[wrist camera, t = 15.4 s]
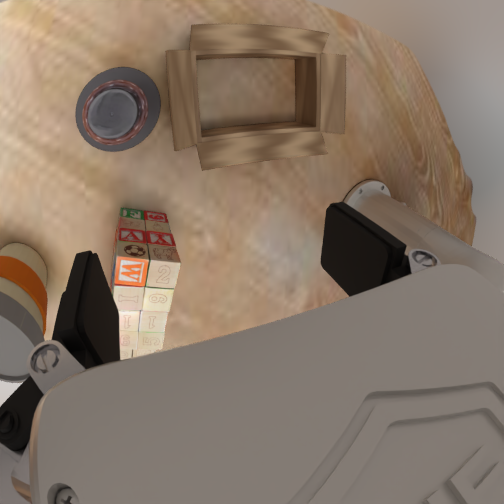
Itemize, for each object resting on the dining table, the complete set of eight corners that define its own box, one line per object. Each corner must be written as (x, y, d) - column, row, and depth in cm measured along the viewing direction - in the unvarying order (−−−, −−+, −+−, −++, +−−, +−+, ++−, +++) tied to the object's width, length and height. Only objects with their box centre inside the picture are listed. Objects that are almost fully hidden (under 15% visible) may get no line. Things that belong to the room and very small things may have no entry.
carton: (314, 40, 30) (346, 36, 25) (314, 142, 39) (344, 153, 33) (158, 39, 24) (164, 26, 19) (169, 160, 33) (178, 175, 27)
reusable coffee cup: (-15, 288, 28) (-44, 362, 17) (-8, 218, 25) (-57, 285, 14) (50, 314, 36) (40, 394, 24) (67, 249, 32) (47, 329, 21)
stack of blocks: (143, 331, 44) (155, 392, 35) (107, 329, 41) (111, 391, 32) (166, 212, 36) (182, 263, 26) (119, 205, 33) (116, 256, 23)
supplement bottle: (145, 132, 29) (149, 149, 20) (95, 137, 27) (76, 157, 18) (147, 82, 26) (152, 74, 17) (95, 86, 24) (75, 82, 15)
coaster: (156, 60, 25) (157, 59, 25) (164, 140, 31) (164, 141, 31) (72, 79, 23) (71, 79, 22) (84, 159, 28) (83, 161, 28)
